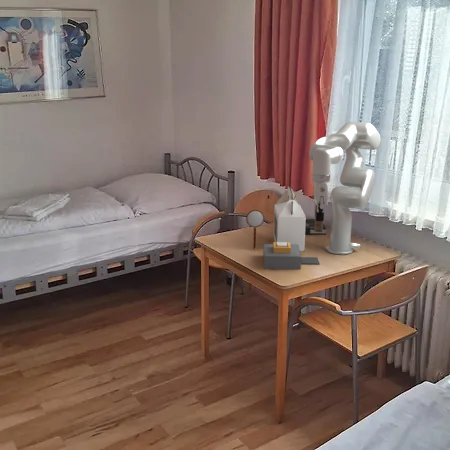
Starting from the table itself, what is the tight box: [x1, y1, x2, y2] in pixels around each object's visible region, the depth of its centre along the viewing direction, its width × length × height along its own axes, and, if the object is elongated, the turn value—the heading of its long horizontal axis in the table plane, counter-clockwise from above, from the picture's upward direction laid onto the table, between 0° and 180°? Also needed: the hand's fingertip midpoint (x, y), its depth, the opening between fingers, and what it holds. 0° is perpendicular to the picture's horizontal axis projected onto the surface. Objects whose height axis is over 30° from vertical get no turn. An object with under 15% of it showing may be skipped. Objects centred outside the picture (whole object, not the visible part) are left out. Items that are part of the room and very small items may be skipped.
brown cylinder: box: [314, 204, 324, 232], centre depth 234 cm, size 4×4×15 cm
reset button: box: [277, 242, 287, 247], centre depth 247 cm, size 4×4×6 cm
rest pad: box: [301, 256, 321, 266], centre depth 250 cm, size 8×8×1 cm
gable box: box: [273, 185, 307, 252], centre depth 269 cm, size 22×13×28 cm, turn 179°
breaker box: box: [262, 241, 302, 270], centre depth 248 cm, size 16×16×8 cm
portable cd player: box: [305, 218, 327, 236], centre depth 295 cm, size 16×17×4 cm
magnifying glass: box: [245, 209, 265, 250], centre depth 263 cm, size 9×2×20 cm, turn 97°
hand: (319, 219), depth 235 cm, fingers closed on brown cylinder, 3 cm apart
